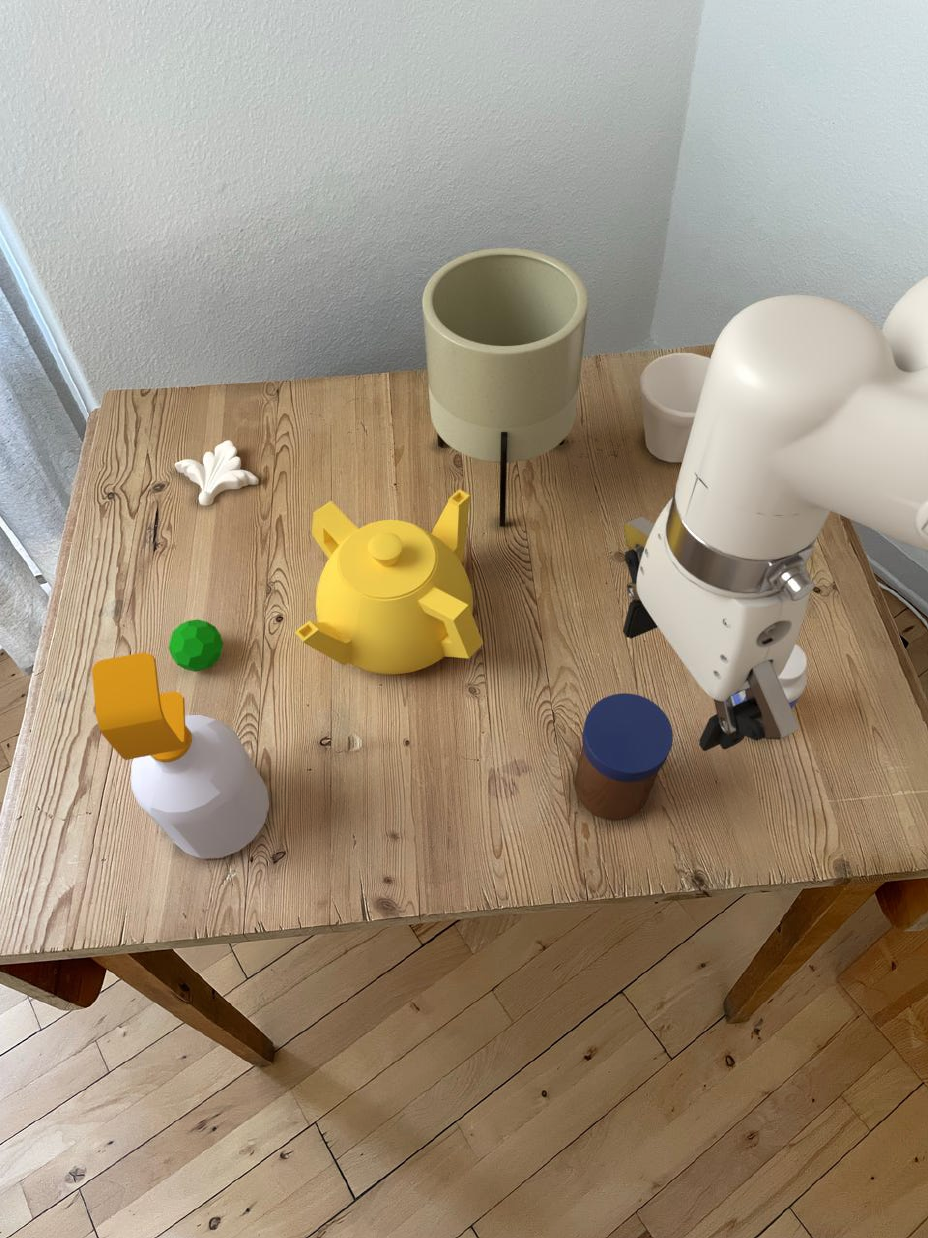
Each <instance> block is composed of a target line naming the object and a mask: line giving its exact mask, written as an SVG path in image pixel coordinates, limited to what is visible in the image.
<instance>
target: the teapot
mask: <svg viewBox="0 0 928 1238" xmlns="http://www.w3.org/2000/svg"><path fill="white" fill-rule="evenodd" d="M470 501H471V495H470V494H469V493H467V492H465V491H463V490H462V489H461V488H459V489H457V490H456V492H454V493H453V494H452V495H451V496H450V497H449V498H448V499H447V503H446V504H445V507H444V509H443V510H442V512H441V514H440V516H439V518H438V520H437V521H436V524H435V525H434V528H433V530H432V531H431V532H430V531H428V530H427V529H425V528H423V527H421V526H419V525H417V524H414V523H412V522H408V521H404V520H400V519H399V520H398V519H383V520H378V521H373V522H370V523H367V524H365V525H363V526H361V527H359V528H358V527H357V526H356V525H355V524H354V523H353V522H352V521H351V520H350V519H349V517H347V515H346V514H344V513H343V511H342V510H341V509H340V508H339V507H338V506H337V505H336V504H335V503H334V502H333V501H332V500H329V501H328V502H326V503H325V504H324V505H322V506H321V507H319V508H318V509H316V510H315V511H314V512H313V513H312V514H313V516H312V526H311V535H312V537H313V539H314V540H315V542H316V543H317V544H318V546H319V547H320V549H321V550H322V552H323V553H324V555H325V556H326V558H327V559H328V560H327V561H326V563H325V564H324V567H323V569H322V571H321V574H320V577H319V580H318V583H317V589H316V594H315V613H316V619H317V621H311V620H308V621H307V622H305V623H304V624H303V625H301V626H300V627H299V628H298V629H296V630H295V631H293V633H294V634H295V636H296V637H297V638H299V640H300V641H301V642H303V643H304V644H305V645H307V646H309V647H310V648H312V649H314V650H316V651H317V652H319V653H321V654H323V655H325V656H326V657H328V658H330V659H331V660H334V661H335V662H337V663H338V664H341V665H343V666H346V665H348V664H350V665H352V666H354V667H355V668H357V669H360V670H363V671H366V672H370V673H372V674H379V675H380V674H381V675H401V674H408V673H413V672H417V671H420V670H422V669H425V668H427V667H430V666H432V665H434V664H435V663H437V662H439V661H440V660H442V659H443V658H445V657H449V658H458V659H459V658H460V659H470V658H471V657H472V656H473V655H474V654H475V653H476V652H477V651H478V649H479V648H481V646H483V644H484V641H483V639H482V636H481V634H480V631H479V628H478V626H477V623H476V621H475V618H474V616H473V613H474V611H473V610H474V597H473V588H472V586H471V582H470V579H469V577H468V574H467V571H466V570H465V568H464V565H463V562H464V556H465V555H464V554H465V547H466V539H467V537H466V536H467V528H468V520H469V519H468V518H469V509H470Z"/></svg>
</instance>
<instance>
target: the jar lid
mask: <svg viewBox="0 0 928 1238" xmlns="http://www.w3.org/2000/svg"><path fill="white" fill-rule="evenodd" d="M673 734H674V733H673V727H672V725H671V722H670V720H669V718H668V716H667V714H666V713H665V712H664V710H663V709H662V708H661V707H659V705H658V704H656V703H655V702H654V701H652V700H650V699H649V698H647V697H644V696H642V695H640V694H639V695H638V694H634V693H628V692H626V693H625V692H621V693H615V694H611V695H607V696H605V697H604V698H602V699H600V700H598V701H597V702H596V703H595V704H594V705H593V706H591V708H590V710H589V711H588V713H587V714H586V717H585V720H584V726H583V730H582V736H581V741H582V742H581V743H582V744H581V745H583V749H584V752H585V755H586V757H587V759H588V760H589V762H590V763H591V764H592V766H593V767H594V768H595V769H596V770H597V771H599V772H600V773H601V774H603V775H604V776H606V777H608V778H610V779H613V780H616V781H620V782H638V781H642V780H645V779H648V778H650V777H652V776H653V775H654V774H656V773H657V772H658V771H659V772H660V770H661V769H662V768H663V766H664V765H665V764H666V762H667V759H668V757H669V754H670V753H671V750H672V747H673V746H674V745H673V741H674V735H673Z"/></svg>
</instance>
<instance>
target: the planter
mask: <svg viewBox="0 0 928 1238" xmlns="http://www.w3.org/2000/svg"><path fill="white" fill-rule="evenodd" d="M424 287H425V288H424V289H423V293H422V297H421V298H422V300H421V304H422V305H421V306H422V319H423V333H424V344H425V357H426V370H427V383H428V398H429V411H430V419H431V423H432V425H433V427H434V429H435V431H436V436H437V447H439V448H444V446H445V445H446V444H447V445H448V446H449V447H450V448H451V449H453V450H455V451H457V452H458V453H460V454H462V455H464V456H467V457H469V458H472V459H474V460H479V461H482V462H489V463H499V519H498V520H499V527H506V514H507V511H506V509H507V468H508V464H509V463H518V462H523V461H527V460H531V459H534V458H537V457H539V456H542V455H544V454H546V453H548V452H549V451H551V450H553V449H555V448H556V447H557V446H558V445H559V446H563V445H565V442H566V441H565V440H566V437H567V436H568V435H569V433H570V432H571V430H572V428H573V426H574V424H575V420H576V414H577V406H578V398H579V388H580V378H581V371H582V370H581V369H582V361H583V352H584V344H585V334H586V325H587V317H588V308H589V296H588V291H587V288H586V285H585V283H584V282H583V279H581V277H580V276H579V275H578V273H576V271H574V270H573V269H572V268H571V267H570V266H568V265H567V264H566V263H564V262H562V261H561V260H559V259H557V258H555V257H553V256H552V255H551V256H550V255H548V254H545V253H543V252H539V251H536V250H531V249H526V248H525V249H524V248H517V247H494V248H487V249H481V250H476V251H471V252H469V253H466V254H463V255H461V256H459V257H456V258H454V259H452V260H451V261H449V262H447V263H445V264H444V265H443V266H441V267H440V268H439V269H438V270H437V271H436V272H435V273H433V275H431V277H430V279H429V280H428V281H427V283H426V286H424Z"/></svg>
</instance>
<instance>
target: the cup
mask: <svg viewBox="0 0 928 1238" xmlns="http://www.w3.org/2000/svg"><path fill="white" fill-rule="evenodd" d="M710 358H711V357H708V356H704V355H700V354H696V353H693V352H673V353H669V354H666V355H662V356H659V357H657V358H655V359H654V360H652V361H651V362H650V363H648V364H647V365H646V366H645V367H644V369H643V371H642V373H641V375H640V377H639V383H638V389H639V398H640V400H641V409H642V419H643V428H644V429H643V430H644V438H645V439H644V440H645V447H646V448H647V450H648V451H649V453H650V455H651V456H653V457H654V458H656V459H657V460H658V461H661V462H663V463H664V462H665V463H668V464H682V462H683V459H684V455H685V451H686V448H687V444H688V440H689V437H690V433H691V429H692V426H693V422H694V418H695V414H696V411H697V407H698V403H699V399H700V396H701V392H702V388H703V384H704V381H705V377H706V373H707V369H708V366H709V362H710Z"/></svg>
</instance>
